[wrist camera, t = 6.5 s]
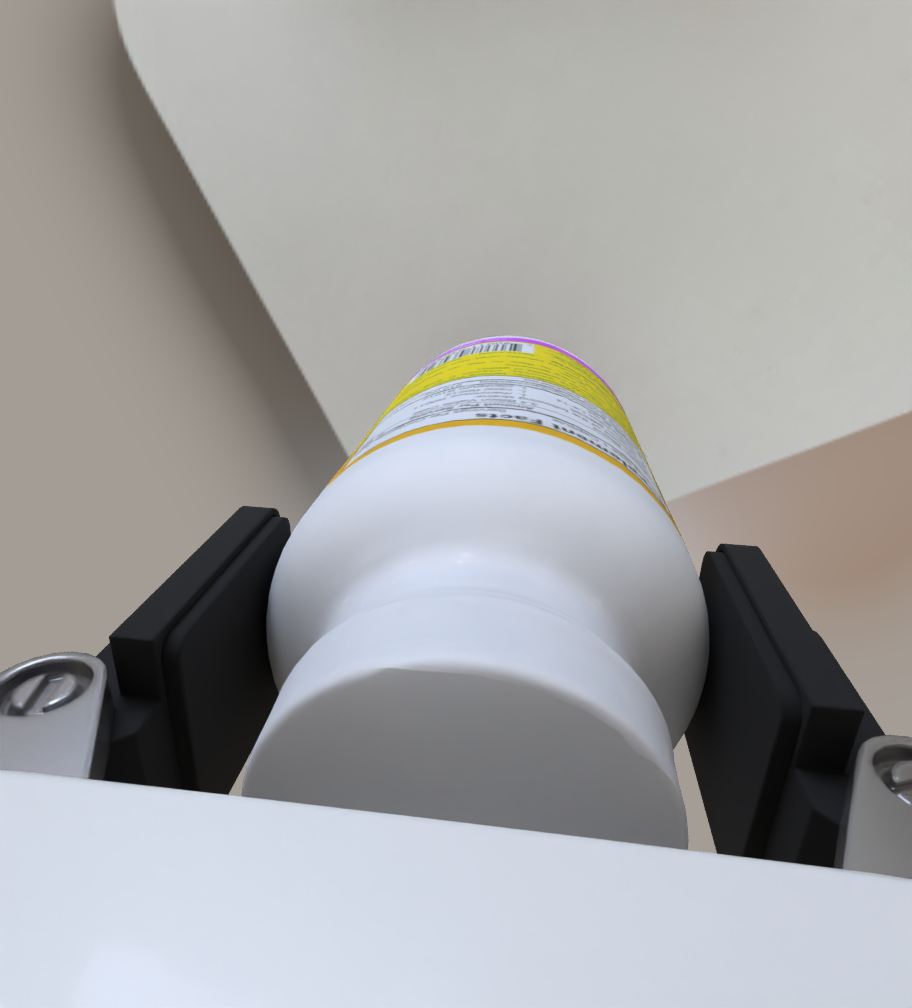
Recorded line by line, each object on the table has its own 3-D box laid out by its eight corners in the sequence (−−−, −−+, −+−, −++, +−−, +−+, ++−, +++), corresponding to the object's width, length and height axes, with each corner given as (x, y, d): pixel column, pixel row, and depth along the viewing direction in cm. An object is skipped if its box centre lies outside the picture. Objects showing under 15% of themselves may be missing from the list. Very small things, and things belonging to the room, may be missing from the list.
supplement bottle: (539, 598, 20) (536, 1119, 9) (348, 483, 20) (62, 884, 8) (684, 417, 18) (959, 813, 6) (469, 277, 17) (312, 419, 5)
